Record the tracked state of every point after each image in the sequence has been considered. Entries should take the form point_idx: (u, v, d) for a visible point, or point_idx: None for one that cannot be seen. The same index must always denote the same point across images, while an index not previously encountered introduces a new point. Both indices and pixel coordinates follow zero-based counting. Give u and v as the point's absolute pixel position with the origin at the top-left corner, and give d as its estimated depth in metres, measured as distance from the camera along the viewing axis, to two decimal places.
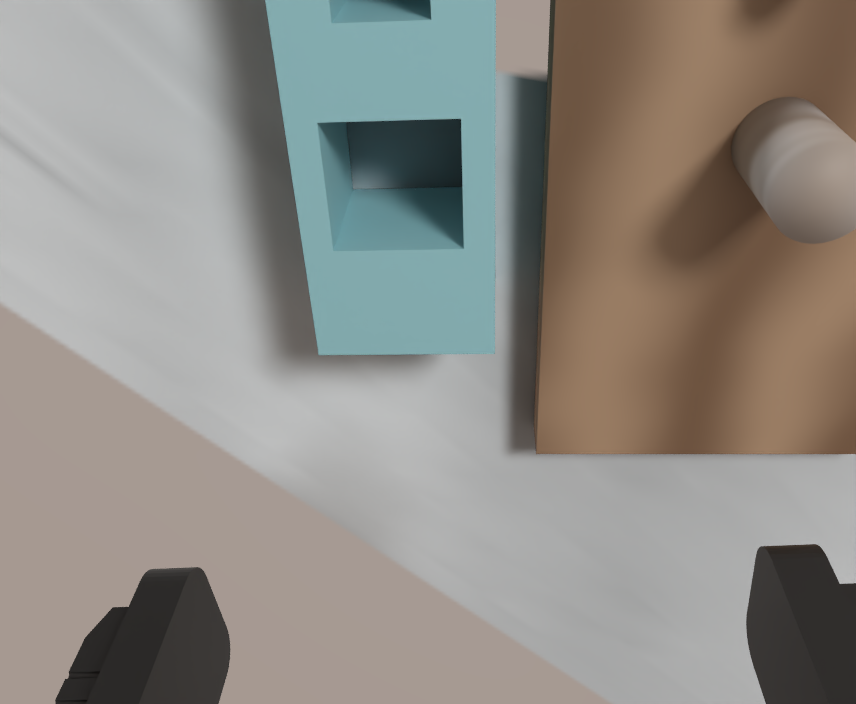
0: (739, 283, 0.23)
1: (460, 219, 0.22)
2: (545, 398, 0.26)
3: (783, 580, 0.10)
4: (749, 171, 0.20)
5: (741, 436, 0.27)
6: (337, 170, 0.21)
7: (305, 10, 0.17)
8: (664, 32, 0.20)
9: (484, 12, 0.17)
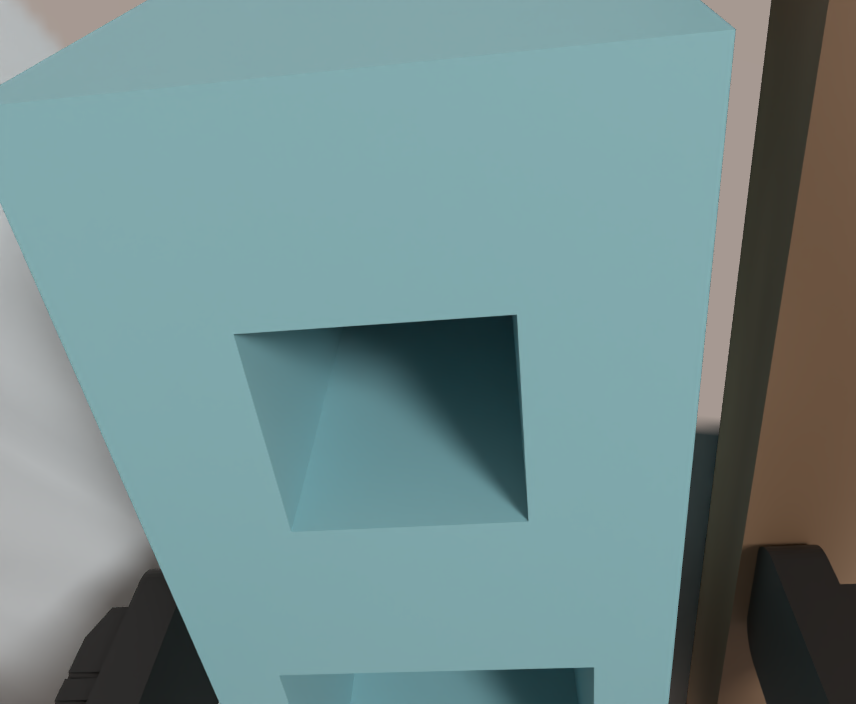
0: None
1: (569, 700, 0.12)
2: None
3: (784, 580, 0.10)
4: None
5: None
6: None
7: (227, 511, 0.07)
8: None
9: (660, 507, 0.07)
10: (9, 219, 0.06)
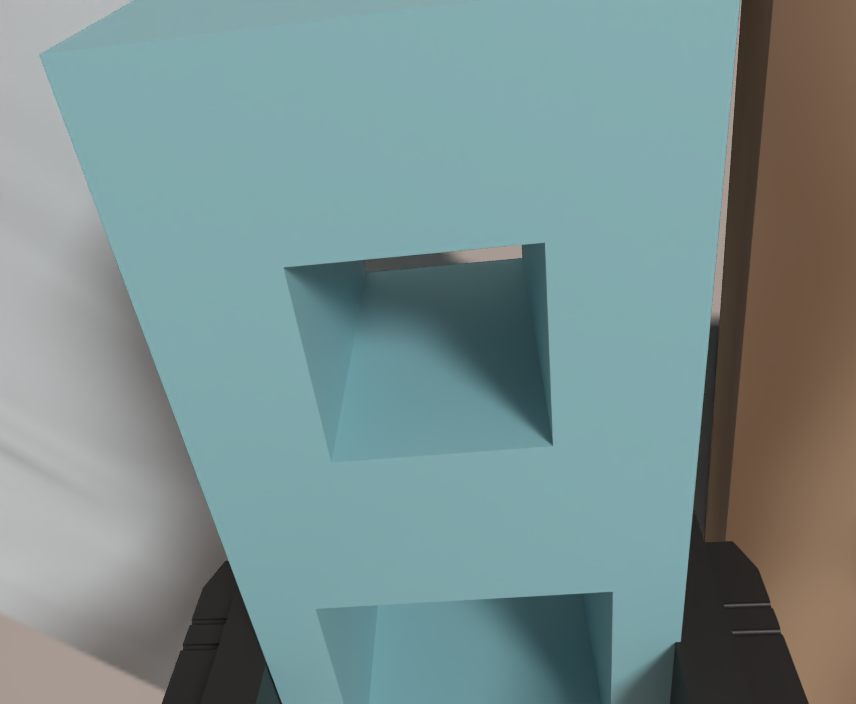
0: None
1: (583, 644, 0.12)
2: None
3: None
4: None
5: None
6: None
7: (271, 443, 0.08)
8: None
9: (675, 428, 0.08)
10: (80, 160, 0.06)
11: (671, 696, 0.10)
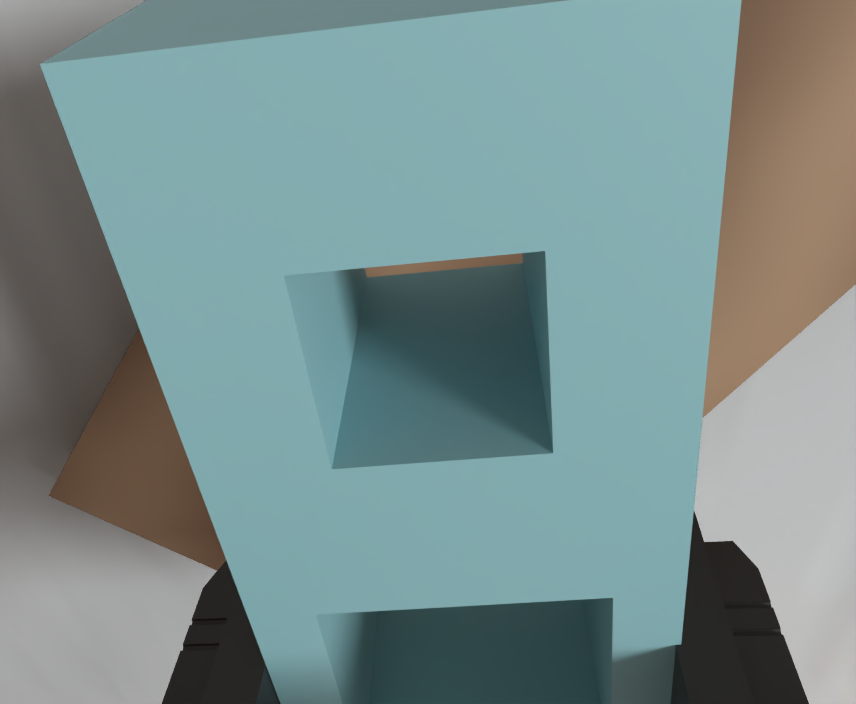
0: None
1: (583, 649, 0.12)
2: (87, 443, 0.20)
3: None
4: None
5: None
6: None
7: (272, 450, 0.08)
8: None
9: (675, 435, 0.08)
10: (81, 168, 0.06)
11: (671, 696, 0.10)
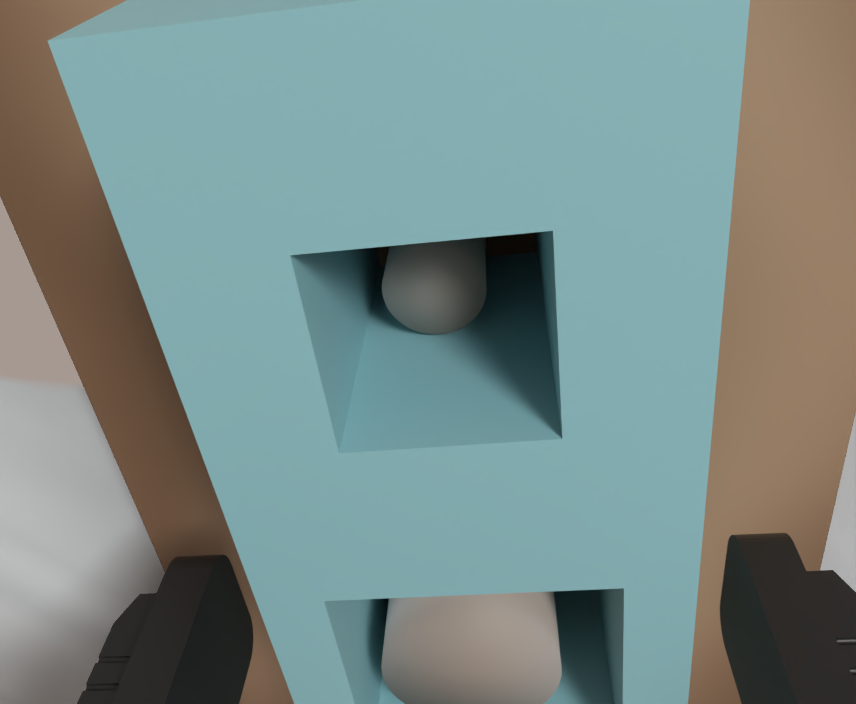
0: None
1: (597, 644, 0.12)
2: None
3: (752, 567, 0.10)
4: None
5: None
6: None
7: (279, 433, 0.08)
8: None
9: (686, 422, 0.07)
10: (88, 146, 0.06)
11: None
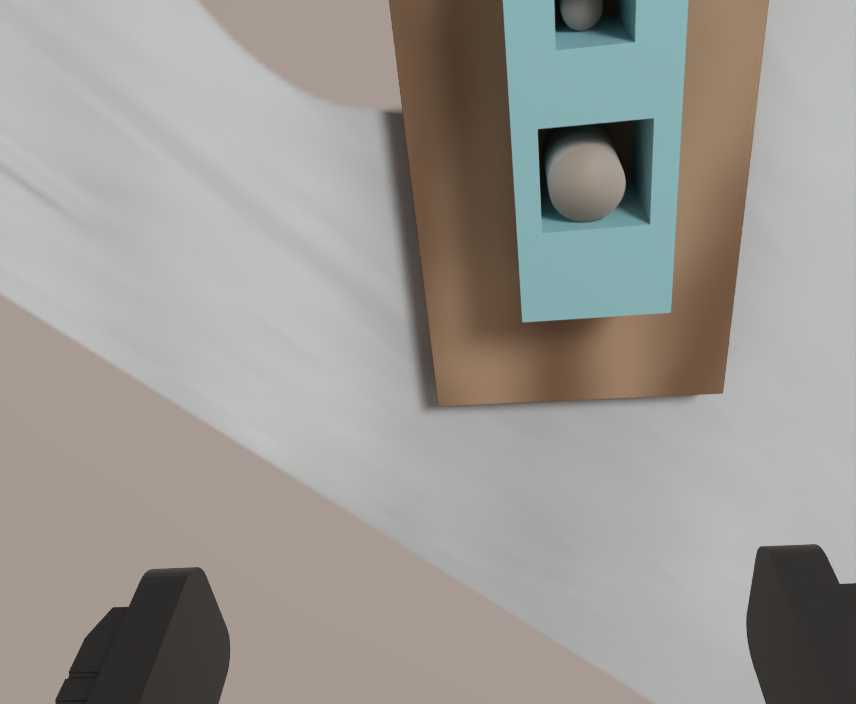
0: None
1: (637, 203, 0.27)
2: (438, 359, 0.33)
3: (783, 580, 0.10)
4: (545, 172, 0.27)
5: (598, 384, 0.34)
6: None
7: (535, 42, 0.22)
8: (477, 75, 0.27)
9: (677, 33, 0.22)
10: None
11: None
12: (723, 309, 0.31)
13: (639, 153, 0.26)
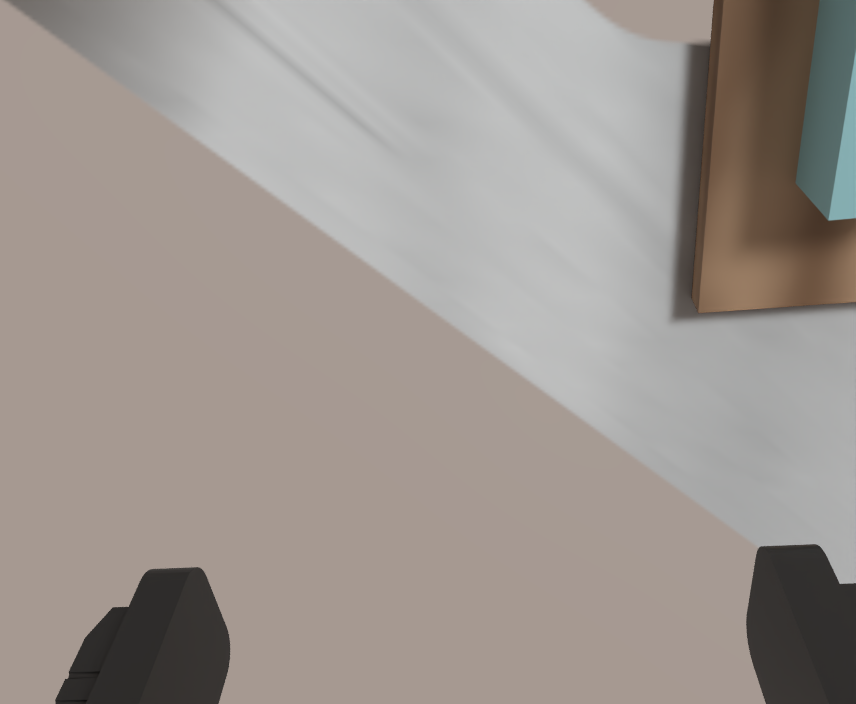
0: None
1: None
2: (706, 269, 0.38)
3: (783, 580, 0.10)
4: None
5: (846, 288, 0.38)
6: None
7: None
8: (793, 7, 0.31)
9: None
10: None
11: None
12: None
13: None
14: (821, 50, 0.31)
